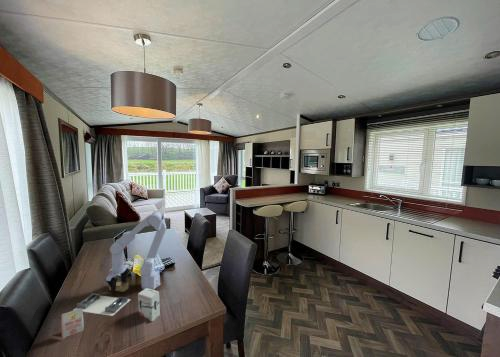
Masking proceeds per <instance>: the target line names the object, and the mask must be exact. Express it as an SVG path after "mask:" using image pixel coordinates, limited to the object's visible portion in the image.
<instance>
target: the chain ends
mask: <svg viewBox="0 0 500 357" xmlns="http://www.w3.org/2000/svg"><path fill="white" fill-rule="evenodd" d="M100 296H101V294H100V293H91V294H90V295H89V296H88V297H86V298H85V299H83V300H81V301H80V302H77V303H76V307H77V308H82V309H86V308H87V306H89V305H90V304H92V303H93V302H94V301H96V300H97V299H100V298H101V297H100ZM117 298H118V299H117V300H115V301H114V302H113V303H112V304H111V305H109V306H108V307H106V308H105V312H111V313H115V312H116V310H117V309H118V308H120V307H121V306H122V305H123V304H124V303H125V302H128V299H129V298H128V297H125V296H118V297H117ZM128 303H129V302H128ZM116 313H117V312H116ZM116 313H115V314H116Z"/></svg>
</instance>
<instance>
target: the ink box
mask: <svg viewBox="0 0 500 357" xmlns="http://www.w3.org/2000/svg"><path fill="white" fill-rule="evenodd" d="M137 299H138V300H137V301H138V302H137V303H138V315H139V316H140V317H144V318H146V319H148V321H149V322H154V321H155V320H156V319H157V318H158V317H160V316H161V308H160V307H161V306H160V303H161V302H160V292H159V290H155V289H154V290H153V289H149V288H145V289H142V290H141V291H140V292H138V294H137Z"/></svg>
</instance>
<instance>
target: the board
mask: <svg viewBox="0 0 500 357" xmlns="http://www.w3.org/2000/svg"><path fill="white" fill-rule="evenodd" d="M100 297H101V298H100V299H97V300H96V301H94V302H93V303H92V304H90V305H89V306H87V308H86V309H82V311H83V313H91V314H96V315H97V314H98V315H104V316H111V317H113V316H114V315H116V314H117V313H118V312H119V311H120V310H121V309H122V308H123V307H124V306H126V305H127V303H129V302H130V301H131V300H132V299H130V298H128V302H125V303H124V304H123V305H122V306H121V307H120V308H118V309H117V310H116V312H115V313H111V312H105V308H106V307H108V306H109V305H111V304H112V303H113V302H114V301H115V300H117V299H118V297H116V296H115V297H114V296H106V295H100ZM78 309H81V308H77V306H76V307H74V308H73V309H72V311H75V310H78Z"/></svg>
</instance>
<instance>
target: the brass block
mask: <svg viewBox="0 0 500 357" xmlns="http://www.w3.org/2000/svg"><path fill="white" fill-rule="evenodd" d="M108 286H109V285H108ZM108 289H109V291H111V288H110V286H109V288H108ZM128 289H129V282H126V283H125V282H122V281H117V282H116V290H115V291H114V292H125V291H127V290H128Z"/></svg>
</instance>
